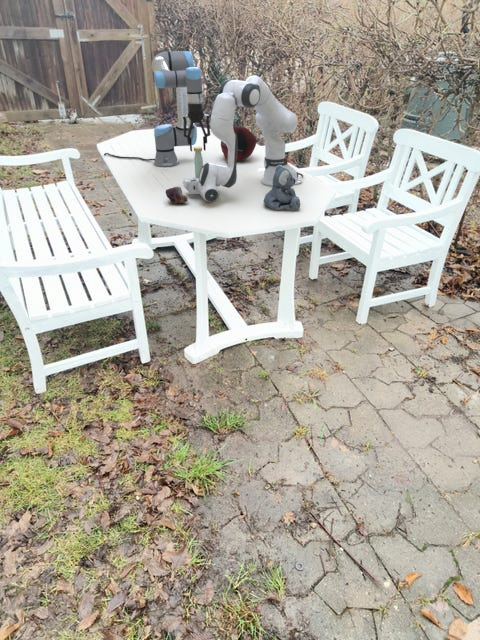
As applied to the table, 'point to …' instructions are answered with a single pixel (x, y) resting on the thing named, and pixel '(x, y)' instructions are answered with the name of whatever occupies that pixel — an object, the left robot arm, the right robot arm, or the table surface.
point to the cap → (197, 149)
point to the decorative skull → (241, 143)
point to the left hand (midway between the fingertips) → (197, 150)
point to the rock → (176, 195)
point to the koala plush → (282, 191)
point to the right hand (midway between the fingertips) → (199, 178)
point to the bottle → (198, 163)
